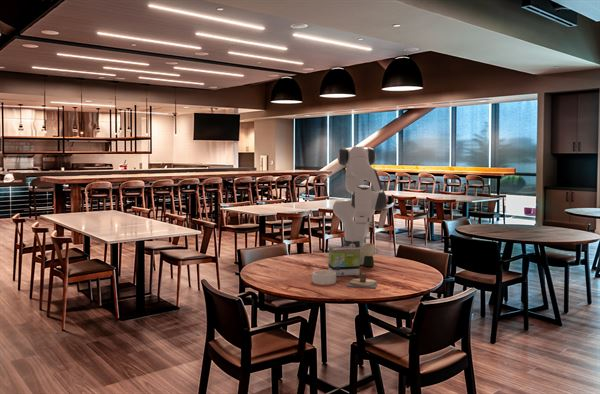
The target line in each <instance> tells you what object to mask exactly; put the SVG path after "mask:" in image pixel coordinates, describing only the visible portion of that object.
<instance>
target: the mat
mask: <svg viewBox="0 0 600 394" xmlns="http://www.w3.org/2000/svg"><path fill="white" fill-rule="evenodd" d="M352 279H353V278H350V280H352ZM373 280H374V281H376V284H375V285H372V286H356V285H352V284H350V281H349V282H348V283H347V285H346V287H348V288H358V289H359V288H361V289H362V288H364V289H376V288H377V286H378V282H379V281H378V280H375V279H373Z"/></svg>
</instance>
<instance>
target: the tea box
mask: <svg viewBox="0 0 600 394" xmlns="http://www.w3.org/2000/svg"><path fill="white" fill-rule="evenodd" d="M360 267H361V266H360V249H358V248H356V247H354V246H346V247H344V246H329V247H328V269H327V270H331V271H335V272H336V277H338V276H339V277H342V276H360Z"/></svg>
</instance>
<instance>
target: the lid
mask: <svg viewBox="0 0 600 394" xmlns="http://www.w3.org/2000/svg"><path fill="white" fill-rule="evenodd" d="M351 279H352V280H351ZM351 279H350V280H349V282H350V284H352V285H356V286H372V285H375V284H376V281H377V280H376V281H374V280H375V279H370V278H367V273H365V272H359V278H351Z"/></svg>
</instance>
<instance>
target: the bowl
mask: <svg viewBox="0 0 600 394" xmlns="http://www.w3.org/2000/svg"><path fill="white" fill-rule="evenodd" d="M311 277H312V278H311V281H312V283H314V284H315V285H323V286H325V285H327V286H328V285H334V284H336V283H337V276H336V272H335V271H331V270H328V269H319V270H318V269H317V270H313V271H312V272H311Z"/></svg>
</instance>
